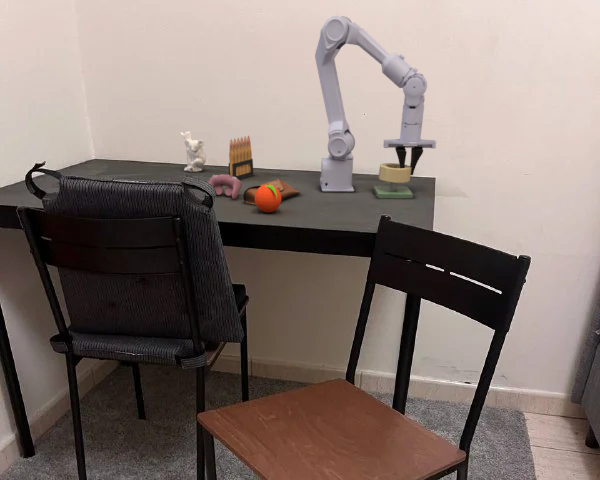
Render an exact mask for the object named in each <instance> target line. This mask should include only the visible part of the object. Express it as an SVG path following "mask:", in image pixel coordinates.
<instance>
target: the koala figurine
mask: <svg viewBox="0 0 600 480" xmlns="http://www.w3.org/2000/svg"><path fill="white" fill-rule="evenodd" d="M179 134H180V136H181V137H182V138H183V139H184V145H185V148H186V163H187V164H186V166H185V167H184V169H183V171H187V172H189V173H195V172H197V173H198V172H202V171H203V169H202V168H201V167H203V166H205V164H206V161H207V155H206V152H205V150H204V149H203V147H204V145H205V142H204V140H203V139H198V140H197V139H192V132H191V131H190V130H188V131H185V132H184V133H183V132H182V131H181V132H180V133H179Z"/></svg>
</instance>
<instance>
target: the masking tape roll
mask: <svg viewBox="0 0 600 480" xmlns="http://www.w3.org/2000/svg"><path fill="white" fill-rule="evenodd" d="M411 169H412V168H411V167H410V165H407V164H405V168H400V164H399V163H398V162H397V163H396V162H394V163H393V162H387V163H386V162H385V163H381V164H380V165H379V170H378V179H379V180H380V181H383V182H386V183H387V182H388V183H390V182H394V183H397V184H403V183H408V182H411V177H412V175H411Z"/></svg>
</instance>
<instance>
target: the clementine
mask: <svg viewBox="0 0 600 480" xmlns="http://www.w3.org/2000/svg"><path fill="white" fill-rule="evenodd" d="M255 203H256V205H255V206H256V207H257V208H258V210H260V211H262V212H264V213H273V212H275V211H276V210H278V209H279V208H280V206H281V203H282V201H281V194H280V191H279V190H278V189H277V188H276V187H275V186H273V185H268V184H267V185H262V186H261V187H260V188H258V190H257V191H256V194H255Z"/></svg>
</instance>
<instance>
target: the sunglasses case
mask: <svg viewBox="0 0 600 480" xmlns="http://www.w3.org/2000/svg"><path fill="white" fill-rule="evenodd" d="M267 184H268V185H273V186H275V187H276V188H277V189H278V190H279V191H280V194H281V202H282V201H284V200H288V199H291V198H294V197H295V196H297V195H300V194H301V191H299V190H297V189H296V188H294V187H293V186H291V185H289V184H288V183H286V182H285V181H283V180H281V178H280V177H279V178H277V179H275V180H272V181H268V182H264V183H261V184H258V185H253V186H249V187H248V188H246V189H245V190H244V192H243V195H242V199H243V201H244V203H245V204H248V205H253V206H257V205H256V203H255V194H256V191H257V190H258V188H260V187H261V186H262V185H267Z"/></svg>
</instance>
